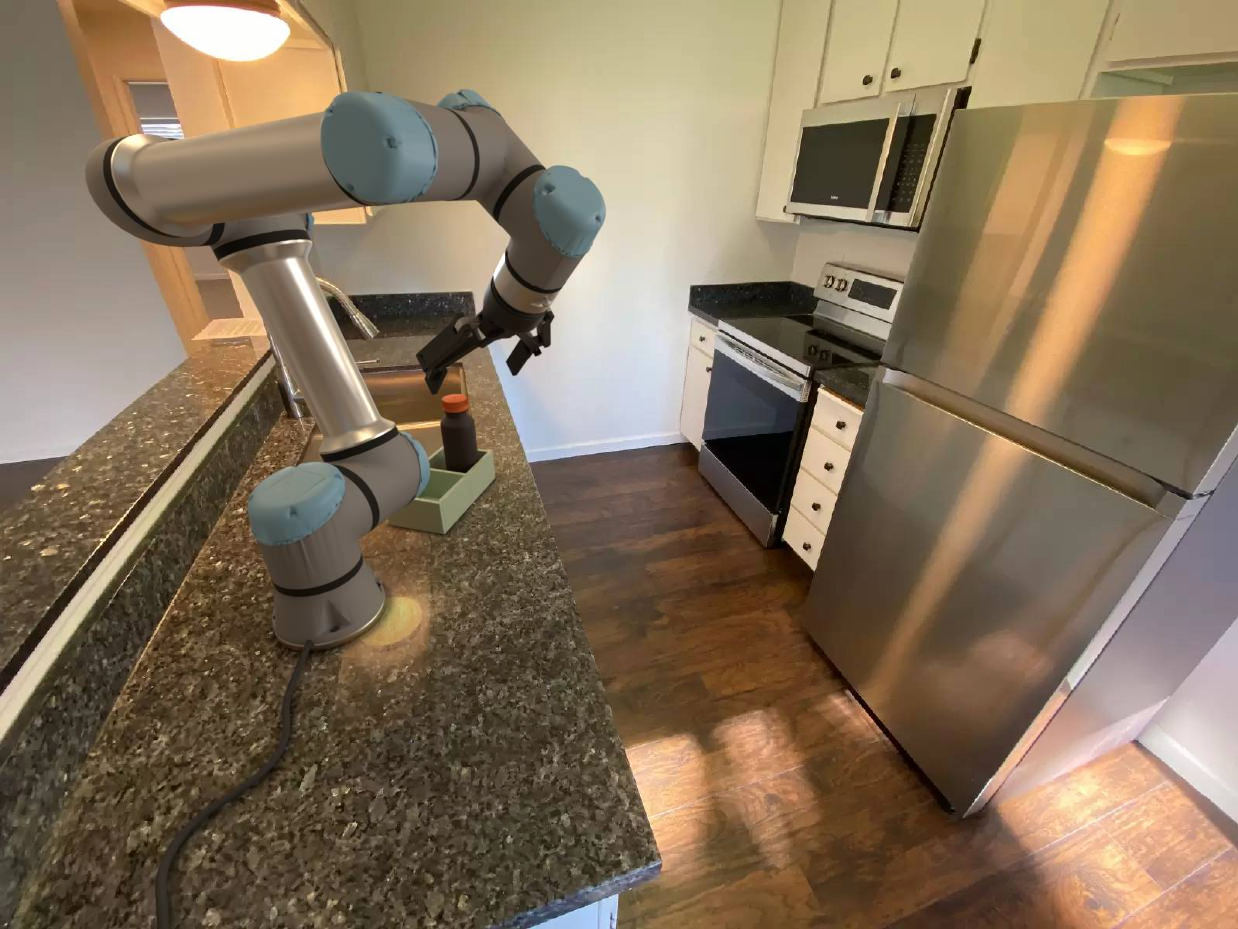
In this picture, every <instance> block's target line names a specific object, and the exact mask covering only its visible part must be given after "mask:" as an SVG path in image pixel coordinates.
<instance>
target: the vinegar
mask: <svg viewBox="0 0 1238 929" xmlns="http://www.w3.org/2000/svg"><path fill="white" fill-rule="evenodd" d="M441 405H442V410H443V413H444V414H445V415H444V416H443V417H442V418H441V420H440V422H439V426H440V432H441V441H442V446H443V448H444V455H445V462H446V468H447V471H452V472H459V473H467V472H468V471H469V470H470V469H471V468H472V467H473V466H474V465H475V464H476V463H477V462H478V461H479V458H478V449H479V448H478V440H477V431H476V423H475V418H474V417H473V416H472V415H470V414H469V413H468V411H469V402H468V397H467V395H465V394H461V393H451V394H447V395H445V396H443V397H442V398H441Z"/></svg>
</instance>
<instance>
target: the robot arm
mask: <svg viewBox="0 0 1238 929" xmlns="http://www.w3.org/2000/svg"><path fill="white" fill-rule="evenodd" d="M84 176H85V182H86V186H87V189H88V190H87V191H88V193H89V194H90V196H91V198H92V201H93V202H94V203H95V205H96V206H97V207H98V208H99V210H100V211H101V213H102V214H103V215H104V216H105V217H106V218H107V219H108V220H109V221H110V222H112V223H113V224H114V225H115V226H117V227H118V228H120V229H121V230H122V231H124V232H126V233H128V234H130V235H131V236H133V237H135V238H137V239H140V240H142V241H145V242H147V243H151V244H154V245H159V246H164V247H174V248H198V247H210V249H211V251H212V253H213V255H214V256H215V258H216V260H217V262H218V264H219V265H220V266H221V267H223V268H225V269H227V270H229V271H231V272H233V273H235V274H237V275H238V276H239V277H240V278H241V281H242V282H243V284H244V286H245V288H246V291H247V292H248V294H249V296H250V298H251V300H252V302H253V304H254V306H255V307H256V310H257V311H258V313H259V316H260V317H261V319H262V321H263V324H264V325H265V328H266V329H267V331H268V333H269V335H270V336H271V339H272V340H273V342H274V345H275V346H276V348H277V350H278V352H279V354H280V356H281V358H282V360H283V361H284V364H285V365H286V368H287V369H288V371H289V373H290V375H291V377H292V379H293V381H294V383H295V385H296V387H297V389H298V391H299V392H300V394H301V397H302V398H303V400H304V402H305V404H306V406H307V408H308V411H309V412H310V414H311V416H312V418H313V420H314V422H315V423H316V425H317V427H318V429H319V431H320V434H321V435H322V442H321V444H320V446H319V448H318V451H317V452H318V453H319V456H320V457H321V459H322V461H309V462H302V463H299V464H298V465H297V466H293V465H290V466H287V467H285V468H281V469H279V470H278V471H275V472H274V473H272V474H270V475H269V476H267V477H266V478H264V479H262V480H261V481H260V482H259V483H258V484H257V485H256V486H255V487H254V488H253V490H252V491H251V493H250V494H249V497H248V500H247V506H246V510H247V515H248V520H249V523H250V524H249V525H250V531H251V534H252V536H253V538H254V539H255V540H256V543H257V545H258V548H259V550H260V553H261V556H262V559H263V561H264V564H265V566H266V569H267V572H268V575H269V577H270V580H271V583H272V585H273V588H274V590H273V591H274V593H273V609H272V613H271V625H272V630H273V632H274V636H275V638H276V640H277V641H278V643H280V645H282V646H283V647H285V648H286V649H289V650H292V651H297V652H301V653H300V655H299V658H298V660H297V662H296V665H295V667H294V669H293V672H292V674H291V676H290V679H289V681H288V684H287V686H286V689H285V692H284V696H283V700H282V706H281V707H282V708H281V716H282V730H281V736H280V740H279V743H278V745H277V747H276V749H275V750H274V752H273V754H272V756H271V757H270V758H269V759H268V760H267V762H266V763H265V764H264V765H263V766H262V767H261V768H260V769H259V770H258V771H256V772H255V773H254V774H253V775H252V776H250V777H249V778H248V779H246V780H245V781H243V782H242V783H241V784H239V785H238V786H236V787H234V788H233V789H231V790H230V791H228V792H227V793H226V794H224V795H222V796H220V797H219V798H217V799H216V800H215V801H213V802H211V803H210V804H209V805H207V806H206V807H205V808H203V809H202V810H201V811H200V812H198V813H197V814H196V815H195V816H194V817H192V818H191V819H190V820H189V821H188V822H187V823H186V825H184V827H182V829H181V830H180V831H179V832H178V833H177V835H176V836H175V838H174V839H173V840H172V841H171V843H170V844H169V846H168V847H167V849H166V851H165V853H164V855H163V857H162V859H161V861H160V863H159V866H158V868H157V872H156V877H155V881H154V882H155V884H154V897H155V898H154V901H155V913H156V914H155V915H156V929H170V914H169V913H170V912H169V901H168V900H169V898H168V875H169V870H170V866H171V864H172V862H173V860H174V857H175V855H176V853H177V851H178V850H179V848H180V847H181V845H182V843H183V842H184V841H185V839H186V838H187V836H188V835H189V834H190V833H191V832H192V831H193V830H194V828H196V827H197V826H198V825H199V824H200V823H201V822H202V821H203V820H205V819H206V818H207V817H208V816H210V815H211V814H212V813H213V812H215V811H216V810H218V809H219V808H221V807H222V806H224V805H225V804H227V803H228V802H230V801H231V800H232V799H234V798H236V797H237V796H239V795H240V794H242V793H244V792H245V791H246V790H247V789H249V788H251V786H254V785H255V783H257V782H258V781H260V780H261V779H262V778H263V777H264V776H265V775H266V774H268V773H269V771H271V769H272V768H273V767H274V766H275V765H276V764H277V763H278V761H279V760H280V758H281V757H282V755H283V753H284V752H285V750H286V747H287V745H288V743H289V739H290V735H291V702H292V696H293V693H294V691H295V687H296V685H297V682H298V680H299V677H300V674H301V673H302V670H303V667H304V665H305V663H306V660H307V657H308V655H309V653H312V652H314V653H315V652H322V651H327V650H331V649H334V648H337V647H341V646H343V645H345V644H347V643H350V642H352V641H354V640H355V639H357V638H360V636H362V635H364V634H365V633H366V632H367V631H369V630H370V629H371V628H373V627H374V626H375V625H376V624H377V622H378V621H379V620H380V618H382V616H383V614H384V612H385V610H386V607H387V595H386V590H385V588H384V586H383V583H382V582H381V580H380V578H378V577H377V575H376V574H375V573H374V571H373V570H372V568H371V567H370V566H369V565H368V563H367V562H366V561H365V560H364V556H363V552H362V549H361V544H360V541H361V539H362V538H363V537H365V536H366V535H367V534H368V533H370V532H371V531H373V530H375V529H376V528H377V527H379V526H381V524H383V523H384V522H385V521H387V520H389V519H388V518H389V517H391V516H392V515H394V514H395V513H396V512H398V511H399V510H401V509H402V508H404V507H406V506H408V505H409V504H411V503H412V502H413V501H414V499H415V498H416V497H417V496H419V495H420V494H421V493H422V492H423V491H424V489H425V488H426V486H427V484H428V482H429V478H430V464H429V460H428V458H429V456H428V454H427V452H426V451H425V450H426V449H425V448H424V447H423V445H422V444H421V443H420V441H419V440H417V439H414V436H413V435H412V434H411V433H409V432H406V431H403V430H399V429H398V426H397V424H396V422H395V421H393V420H390V419H387V418H385V417H382V415H381V414H380V412H379V410H378V407H377V406H376V404H375V402H374V399H373V397H372V395H371V393H370V391H369V389H368V387H367V386H368V385H367V384H366V382H365V380H364V378H363V376H362V374H361V371H360V370H359V367H358V365H357V363H356V360H355V358H354V356H353V354H352V352H351V350H350V347H349V346H348V343H347V341H346V340H345V336H344V335H343V333H342V331H341V328H340V326H339V324H338V322H337V320H336V317H335V316H334V313H333V311H332V309H331V308H330V304H329V303H328V301H327V298H326V297H325V294H324V292H323V290H322V288H321V286H320V283H319V281H318V279H317V277H316V275H315V273H314V270H313V268H312V266H311V264H310V262H309V260H308V259H309V258H308V257H309V254H310V252H311V250H312V247H313V245H314V243H313V241H312V239H311V238H310V235H309V234H310V233H311V231H312V229H313V228H314V224H315V217H314V215H313V214H314V213H322V212H329V211H332V212H333V211H339V210H350V209H359V208H365V207H382V206H392V205H393V206H394V205H402V204H412V203H429V202H430V203H431V202H463V201H464V202H469V201H476V202H477V203H479V205H480V206H481V207H482V208H483V209H484V210H485V211H486V213H488V214H489V216H490V217H491V218H492V219H493V220H494V221H495V223H497V225H499V226H500V227H501V228H502V230H504V231H505V232H506V233H507V235H509V237H510V238H509V241H508V244H507V246H506V248H505V250H504V252H503V254H502V256H501V258H500V259H499V262H498V264H497V266H496V268H495V271H494V272H493V275H492V277H491V279H490V281H489V283H488V285H487V287H486V289H485V291H484V294H483V300H482V309H481V310H480V311H479V312H477V314H476V315H475V316H471V317H467V316H466V314H465V312H463V311H459V312H457V313H456V314H455V315H454V317H453V318H452V320H451V321H450V323H449V324H448V325H447V326H445V328H443V329H442V330H441V331H440V332H439V333H437V335H435V336H434V337H433V338H432V339H431V340H430V341H429V342H428V343H427V344H426V345H425V346H423V347H422V348H421V349H420V350H419V351H417V353H416V354H415V357H416V360H417V361H418V363H419V366H420V368H421V370H422V372H423V373H424V374H425V375H424V381H425V383H426V386H427V387H428V390H429V391H430V394H431V395H432V396H435V395H438V393H439V391H440V388H441V387H442V385H443V382H444V380H445V379H446V376H447V374H448V372H449V370H448V369H447V368H448V367H451V366H452V365H453V364H455V363H457V362H458V361H460V360H461V359H462V358H464V357H465V356H468V355H469V354H470V353H472V352H473V351H475V350H477V349H478V348H480V349H484V348H485V349H486V347H487V346H489V345H491V344H493V343H495V342H496V341H500V340H506V339H511V338H512V337H514V336H516V337H518V341H517V343H516V345H514V348H513V349H512V351H511V352H510V354H509V355H508V357H507V358H506V360H505V364H506V366H507V368H508V369H509V371H510V373H511V376H512V377H516V376H518V374H519V373H520V372H521V371H522V369H523V368H524V366H525V365H526V363H527V362H528V360H529V359H531V357H532V355H533V356H534V357H539V356H541V355H542V353H543V352H542V350H541V349H540V348H541V347H543V349H547V348H549V347H551V345H552V322H553V321H554V319H555V317H556V316H555V314H554V312H553V310H552V308H551V305H552V304H553V303H554V302H555V300H556V298H557V297H558V295H559V293H560V292H561V290H562V289H563V287H564V286H565V284H566V283H567V281H568V280H569V279H570V277H571V276H572V275H573V273H574V272H575V270H576V269H577V267H578V266H579V264H580V263H581V262H582V260H583V259H584V258H585V256H586V254H588V253H589V252H590V250H591V248H592V246H593V245H594V241H595V239H596V238H597V236H598V234H599V232H600V230H601V229H602V227H603V225H604V223H605V220H606V215H607V207H606V202H605V200H604V196H603V194H602V192H601V191H600V189H599V188H598V186H597V185H596V184H595V183H594V182H593V181H592V180H591V178H589V177H585V176H584V175H581V173H580V172H579V170H577V168H574V167H571V166H568V165H562V164H560V165H559V164H558V165H551V166H550V167H548V168H546V167H545V166H544V165H543V164H542V162H541V161H540V160H539V159H538V158H537V156H535V154H534V153H533V151H531V149H529V147H528V146H527V145H526V144H525V143H524V141H523V140H522V139H521V138H520V137H519V136H518V135H517V134H516V132H515V131H514V130H513V129H512V128H511V126H509V125H508V123H507V122H506V119H505V118H504V117H503V116H502V114H501V112H500V111H498V110H497V109H496V108H495V107H493V106H491V104H489V103H488V102H487V100H485V98H483V97H482V95H480V93H478V92H477V91H475V90H473V89H469V88H461V89H459V90H457V92H456V93H454V92H449V93H448V94H446V95H445V96H443V98H441V99H440V101H439V102H437V104H436V105H433V104H428V103H424V102H419V101H417V100H412V99H408V98H403V97H400V96H398V95H394V94H391V93H389V92H386V91H361V90H348V91H344V92H341V93H339V94H337V95H335V96H334V97H333V98H332V101H331V102H330V104H329V105H328V107H327V108H325V109H324V110H323V111H318V112H312V113H308V114H303V115H298V116H293V117H287V118H283V119H282V118H281V119H277V120H273V121H266V122H262V123H261V122H260V123H257V124H250V125H246V126H241V127H235V128H230V129H225V130H219V131H215V132H210V133H205V134H199V135H195V136H188V137H184V138H177V137H176V138H175V137H165V136H161V135H158V134H151V133H137V134H130V135H127V136H126V135H125V136H118V137H114V138H108V139H107V140H105V141H102V142H101V143H100V144H98V145H97V146H96V147H94V148H93V150H92V151H91V152H90V153H89V155H88V158H87V159H86V164H85V169H84ZM535 329H536V334H535V335H533V333H532V331H534V330H535ZM478 330H479V331H480V332H479V331H478ZM480 333H481V334H482V335H483V337H484V338H482V336H481V335H480Z"/></svg>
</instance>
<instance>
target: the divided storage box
mask: <svg viewBox="0 0 1238 929" xmlns="http://www.w3.org/2000/svg"><path fill="white" fill-rule="evenodd" d="M477 449H478V458H479V461H478V462H477V463H476V464H475V465H474V466H473V467H472V468H471V469H470V470H469V471H468V472H467V473H459V472H452V471H447V468H446V462H445V455H444V448H443V445H442V446H441V447H439V448H438V449H437V450H436V451H435V452H434V453H432V454H431V455H430V456H428V460H429V464H430V478H429V482H428V484H427V486H426V488H425V489H424V491H423V492H422V493H421V494H420V495H419V496H417V497H416V498H415V499H414V501H413V502H412V503H411V504H409V505H408V506H406V507H404V508H402V509H401V510H399V511H398V512H396V513H395V514H394V515H392V516H391V517H389V518H388V519H387V520H388V524H389V526H394V527H398V528H399V527H400V528H404V529H411V530H416V531H422V532H427V533H432V534H433V533H434V534H440V535H446V533H448V531H449V530H450V529H451V528H452V527H453V525H454V524H455V523H456V522H457V521H458V520H459V519H460V518H461V517H462V516H463V514H464V513H465V512H466V511H468V509H469V508H470V506H471V505H472V504H473V503H474V502H475V501H476V500H477V499H478V498H479V496H481V495H482V493H483V492H484V491H485V490H487V488H488V486H489V485H490V484H492V482H493V481H494V480H495V479H496V472H495V471H496V470H495V462H494V451H493V450H488V449H482V448H477Z"/></svg>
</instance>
